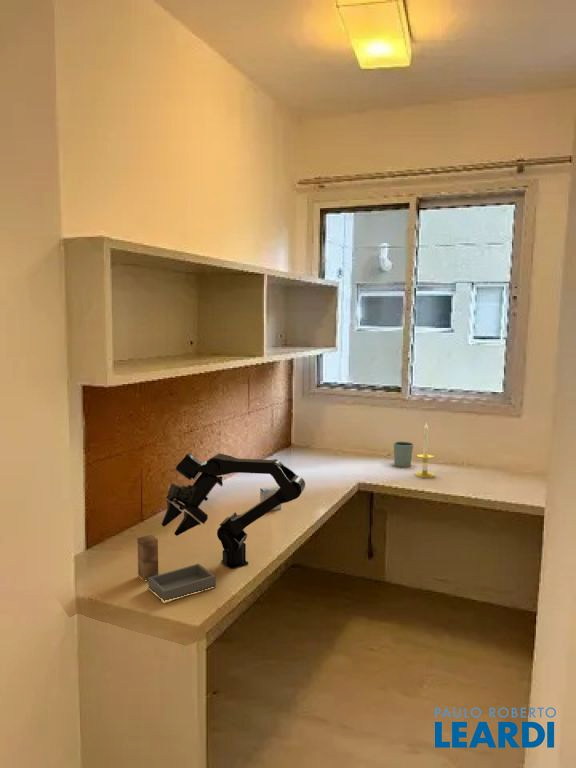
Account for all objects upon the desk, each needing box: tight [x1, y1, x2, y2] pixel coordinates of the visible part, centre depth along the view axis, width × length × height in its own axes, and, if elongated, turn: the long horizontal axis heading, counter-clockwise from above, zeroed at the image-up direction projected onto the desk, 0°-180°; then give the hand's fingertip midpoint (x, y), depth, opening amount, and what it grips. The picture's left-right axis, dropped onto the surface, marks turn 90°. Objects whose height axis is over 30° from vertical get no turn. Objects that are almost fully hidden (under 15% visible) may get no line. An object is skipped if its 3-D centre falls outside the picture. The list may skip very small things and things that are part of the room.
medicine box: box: [259, 485, 282, 511], centre depth 231 cm, size 8×4×9 cm, turn 111°
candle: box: [414, 422, 436, 479], centre depth 282 cm, size 10×10×27 cm
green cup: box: [393, 440, 414, 468], centre depth 301 cm, size 10×10×12 cm
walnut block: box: [137, 534, 159, 582], centre depth 169 cm, size 4×4×12 cm
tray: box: [147, 563, 216, 601], centre depth 163 cm, size 16×10×4 cm, turn 127°
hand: (168, 530), depth 173 cm, fingers open, 9 cm apart
